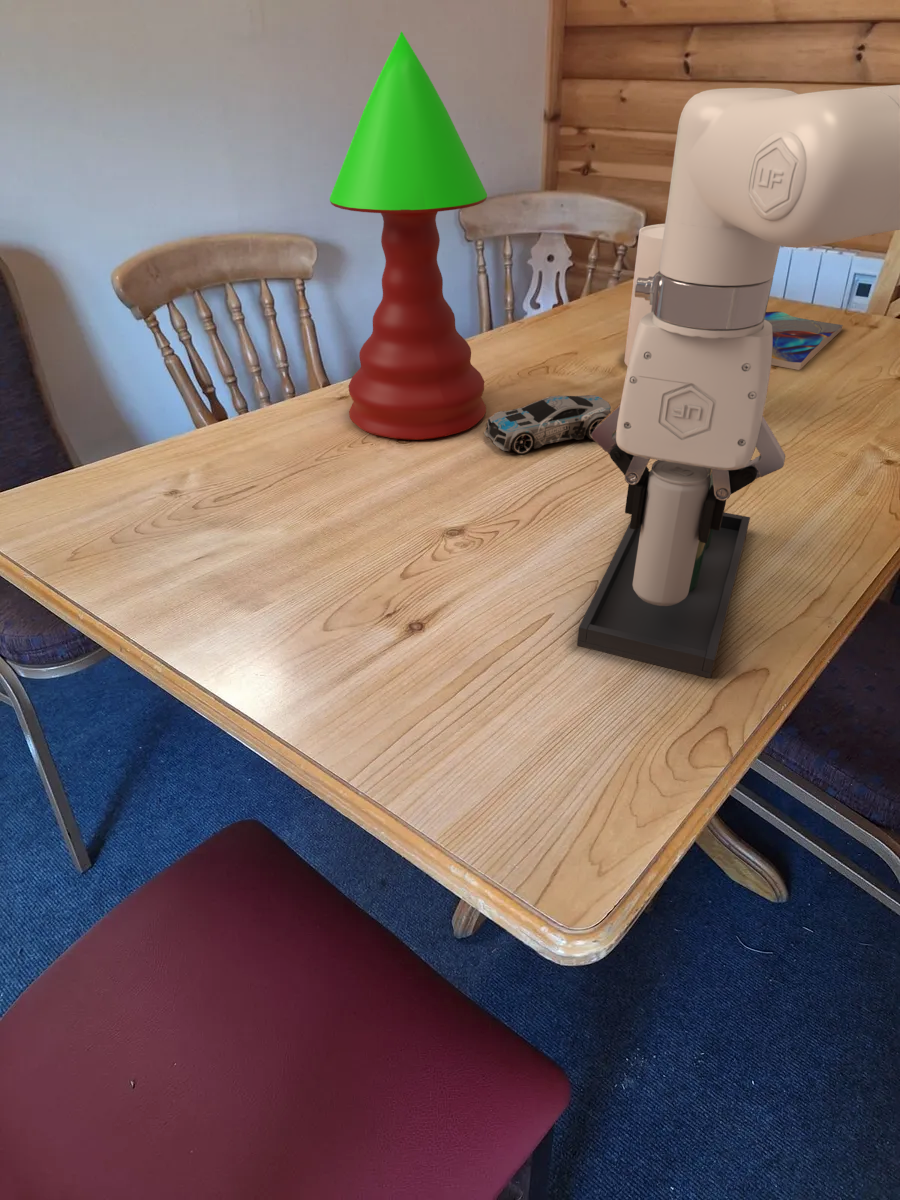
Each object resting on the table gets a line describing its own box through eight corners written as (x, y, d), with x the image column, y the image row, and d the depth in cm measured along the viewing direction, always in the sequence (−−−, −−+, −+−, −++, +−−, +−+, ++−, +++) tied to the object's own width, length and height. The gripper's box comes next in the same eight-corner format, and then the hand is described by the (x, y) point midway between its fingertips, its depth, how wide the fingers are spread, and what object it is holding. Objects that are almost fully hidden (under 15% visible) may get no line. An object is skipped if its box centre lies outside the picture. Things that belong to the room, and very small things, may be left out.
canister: (717, 376, 123) (742, 240, 112) (631, 377, 124) (648, 241, 112) (696, 348, 134) (718, 222, 123) (618, 349, 135) (632, 223, 123)
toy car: (479, 437, 106) (479, 402, 103) (588, 417, 111) (591, 383, 108) (501, 459, 100) (502, 422, 97) (616, 437, 105) (620, 402, 102)
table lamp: (378, 453, 102) (346, 30, 76) (331, 403, 117) (291, 33, 91) (510, 425, 109) (522, 27, 83) (450, 381, 124) (444, 31, 97)
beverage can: (648, 571, 71) (668, 450, 64) (697, 590, 68) (723, 467, 61) (621, 595, 68) (638, 471, 61) (671, 616, 66) (695, 489, 59)
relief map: (757, 317, 149) (760, 306, 148) (841, 330, 142) (844, 319, 140) (708, 353, 133) (710, 341, 131) (799, 370, 125) (802, 357, 124)
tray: (746, 533, 84) (750, 516, 83) (710, 678, 65) (715, 659, 64) (639, 514, 88) (642, 497, 87) (576, 645, 69) (578, 626, 68)
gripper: (576, 303, 54) (558, 530, 65) (841, 329, 48) (774, 573, 59) (603, 278, 59) (583, 490, 70) (844, 299, 54) (782, 526, 64)
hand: (671, 526), depth 64 cm, fingers closed on beverage can, 4 cm apart
